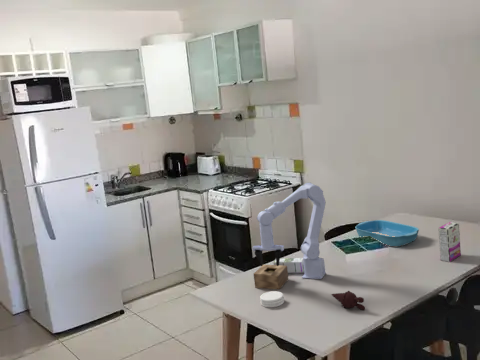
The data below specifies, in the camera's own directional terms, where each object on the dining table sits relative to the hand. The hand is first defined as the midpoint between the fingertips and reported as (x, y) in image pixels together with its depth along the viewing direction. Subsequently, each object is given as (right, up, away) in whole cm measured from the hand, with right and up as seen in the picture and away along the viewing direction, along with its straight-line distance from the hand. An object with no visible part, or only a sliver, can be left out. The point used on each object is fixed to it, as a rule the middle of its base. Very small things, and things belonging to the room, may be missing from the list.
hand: (269, 265), depth 239 cm
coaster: (0, -13, -20) cm, 24 cm away
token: (+1, -8, +1) cm, 8 cm away
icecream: (+30, -12, -32) cm, 45 cm away
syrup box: (+3, -3, +16) cm, 17 cm away
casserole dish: (+67, +6, +46) cm, 82 cm away
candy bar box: (+87, +2, +7) cm, 87 cm away
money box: (+1, -9, +2) cm, 9 cm away
